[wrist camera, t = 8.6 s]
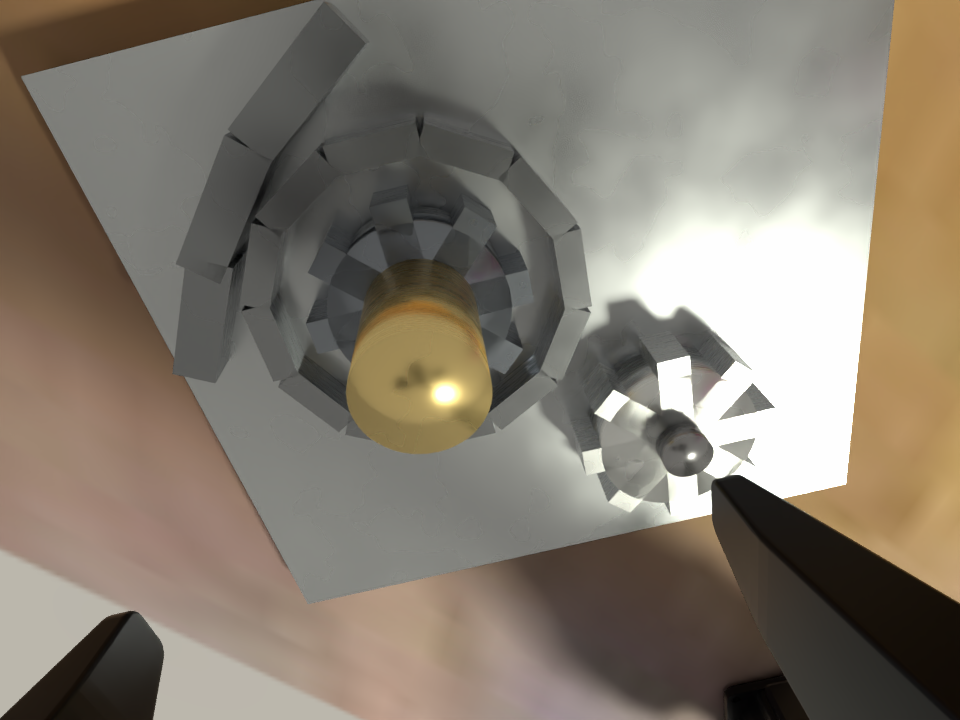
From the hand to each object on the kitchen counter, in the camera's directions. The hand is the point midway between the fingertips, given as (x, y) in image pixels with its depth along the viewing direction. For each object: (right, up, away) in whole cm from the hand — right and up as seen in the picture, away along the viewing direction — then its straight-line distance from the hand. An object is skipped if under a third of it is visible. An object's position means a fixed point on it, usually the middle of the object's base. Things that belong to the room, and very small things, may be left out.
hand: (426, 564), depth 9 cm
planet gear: (-1, +5, +9) cm, 11 cm away
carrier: (+2, +5, +11) cm, 12 cm away
